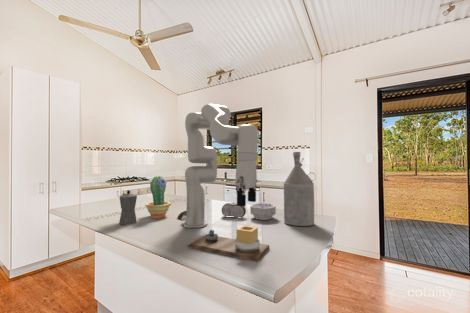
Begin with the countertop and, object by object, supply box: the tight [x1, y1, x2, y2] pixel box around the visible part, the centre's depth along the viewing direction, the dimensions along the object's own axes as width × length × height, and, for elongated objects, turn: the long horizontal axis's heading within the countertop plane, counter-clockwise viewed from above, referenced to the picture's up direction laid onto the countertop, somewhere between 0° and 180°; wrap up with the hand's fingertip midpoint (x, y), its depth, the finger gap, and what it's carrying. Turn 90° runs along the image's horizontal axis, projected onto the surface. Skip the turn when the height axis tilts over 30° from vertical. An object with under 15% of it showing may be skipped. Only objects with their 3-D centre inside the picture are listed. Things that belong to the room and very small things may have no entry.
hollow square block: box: [236, 224, 259, 244], centre depth 86 cm, size 6×6×4 cm
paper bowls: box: [249, 202, 277, 221], centre depth 139 cm, size 15×15×8 cm
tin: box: [221, 202, 247, 218], centre depth 141 cm, size 15×3×8 cm, turn 74°
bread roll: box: [177, 210, 187, 221], centre depth 140 cm, size 13×12×5 cm
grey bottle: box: [283, 151, 317, 227], centre depth 128 cm, size 13×17×40 cm
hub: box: [235, 238, 260, 254], centre depth 86 cm, size 9×9×6 cm
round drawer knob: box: [205, 229, 218, 242], centre depth 95 cm, size 5×5×4 cm
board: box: [188, 234, 270, 263], centre depth 91 cm, size 29×13×2 cm, turn 63°
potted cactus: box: [144, 175, 172, 219], centre depth 144 cm, size 15×16×25 cm
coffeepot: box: [118, 189, 138, 226], centre depth 129 cm, size 15×9×18 cm, turn 44°
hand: (246, 203), depth 87 cm, fingers open, 9 cm apart
